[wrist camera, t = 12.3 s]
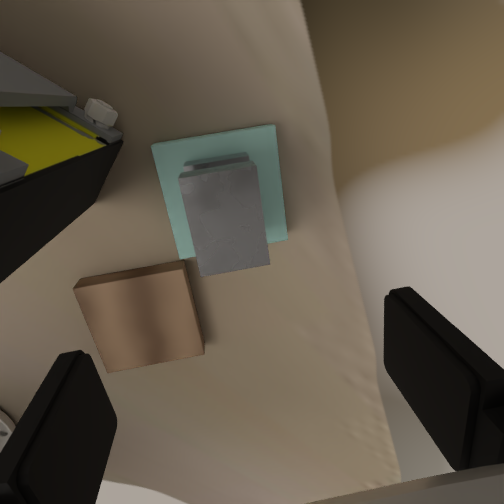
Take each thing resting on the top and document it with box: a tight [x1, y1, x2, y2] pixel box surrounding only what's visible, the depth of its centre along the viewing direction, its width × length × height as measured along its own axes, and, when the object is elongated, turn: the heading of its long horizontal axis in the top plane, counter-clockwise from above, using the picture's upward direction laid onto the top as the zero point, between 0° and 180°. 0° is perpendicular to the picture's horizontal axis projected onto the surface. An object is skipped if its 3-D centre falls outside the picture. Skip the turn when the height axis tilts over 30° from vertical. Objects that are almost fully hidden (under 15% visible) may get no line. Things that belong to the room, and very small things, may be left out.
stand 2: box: [151, 124, 288, 259], centre depth 30 cm, size 10×10×2 cm
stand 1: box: [73, 260, 205, 373], centre depth 34 cm, size 10×10×2 cm
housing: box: [178, 152, 270, 277], centre depth 26 cm, size 7×5×7 cm
